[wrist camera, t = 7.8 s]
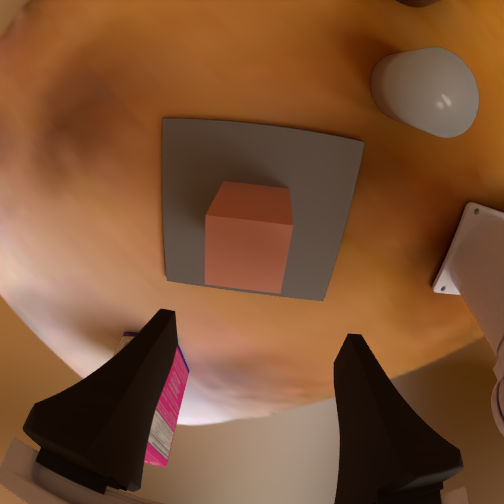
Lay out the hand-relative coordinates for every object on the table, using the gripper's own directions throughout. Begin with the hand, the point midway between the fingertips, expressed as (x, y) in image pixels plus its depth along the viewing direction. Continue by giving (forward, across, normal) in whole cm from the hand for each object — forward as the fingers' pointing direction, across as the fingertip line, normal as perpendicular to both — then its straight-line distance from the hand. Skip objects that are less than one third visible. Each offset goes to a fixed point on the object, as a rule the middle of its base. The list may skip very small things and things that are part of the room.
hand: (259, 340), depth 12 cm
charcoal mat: (+9, +1, -1) cm, 9 cm away
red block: (+9, +1, -1) cm, 9 cm away
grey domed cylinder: (+9, -7, -11) cm, 16 cm away
